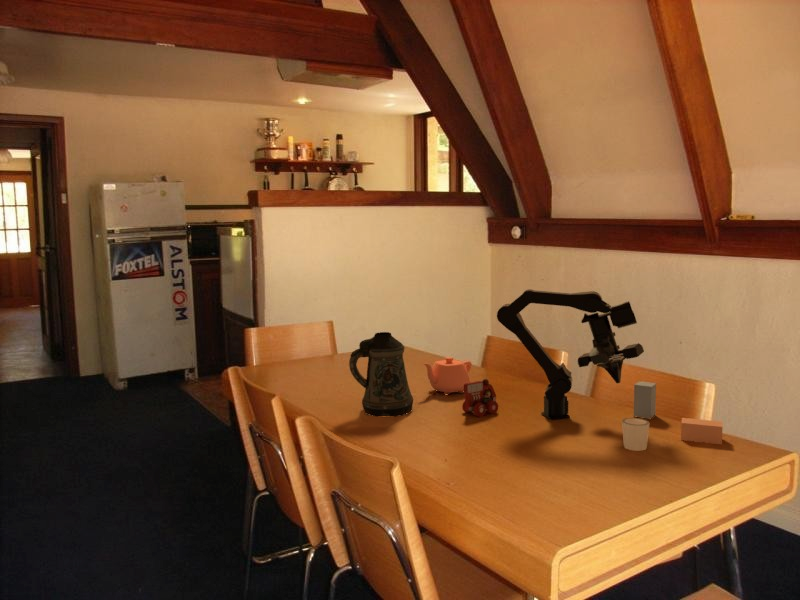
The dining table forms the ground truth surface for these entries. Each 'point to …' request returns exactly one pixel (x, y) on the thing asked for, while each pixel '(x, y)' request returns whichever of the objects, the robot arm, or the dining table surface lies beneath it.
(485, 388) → the toy fire truck
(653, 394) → the slate post
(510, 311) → the robot arm
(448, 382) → the teapot
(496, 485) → the dining table surface
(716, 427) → the terracotta post
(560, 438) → the dining table surface
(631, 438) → the white cup
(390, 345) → the beer stein
